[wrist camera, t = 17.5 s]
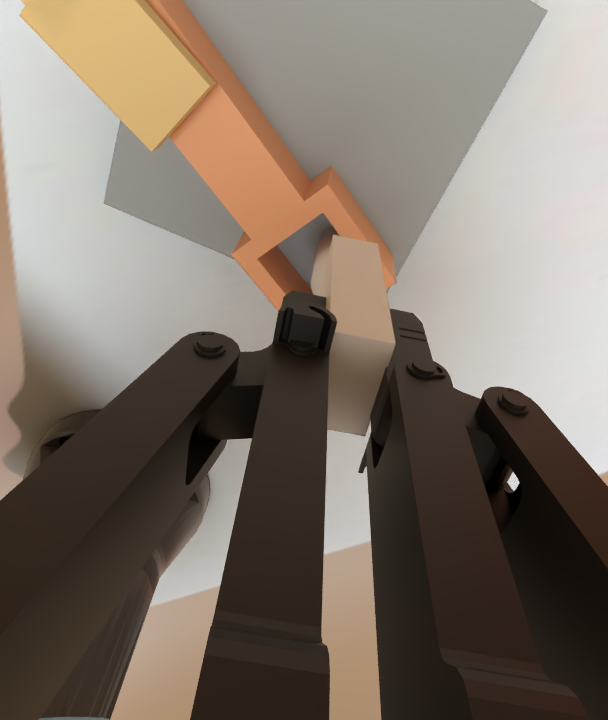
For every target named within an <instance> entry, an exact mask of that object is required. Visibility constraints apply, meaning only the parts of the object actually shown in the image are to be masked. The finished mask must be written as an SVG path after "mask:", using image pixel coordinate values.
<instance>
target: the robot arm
mask: <svg viewBox="0 0 608 720" xmlns="http://www.w3.org/2000/svg"><path fill="white" fill-rule="evenodd" d="M370 420H371V431H372V432H371V435H370V438H369V441H368V444H367V447H366V450H365V452H364V455H363V458H362V461H361V464H360V468H359V472H358V473H363V471H364V468H365V467H366V466H367V475H368V493H369V510H370V527H371V545H372V560H373V561H372V562H373V578H374V596H375V614H376V631H377V650H378V666H379V685H380V701H381V718H382V720H608V486H607V485H606V484H605V483H604V482H603V481H602V479H601V478H600V477H599V476H598V475H597V474H596V472H595V471H594V470H593V469H592V468H591V466H590V465H589V464H588V463H587V462H586V461H585V459H584V458H583V457H582V456H581V455H580V454H579V452H578V451H577V450H576V449H575V448H574V447H573V445H572V444H571V443H570V442H569V441H568V440H567V438H566V437H565V436H564V435H563V434H562V433H561V431H560V430H559V429H558V428H557V427H556V426H555V424H554V423H553V422H552V421H551V420H550V419H549V417H548V416H547V415H546V414H545V413H544V412H543V410H542V409H541V408H540V407H539V406H538V405H537V404H536V403H535V402H534V401H533V400H532V399H530V398H529V397H527V396H525V395H524V394H523V393H521V392H519V391H517V390H514V389H511V388H504V387H490V388H488V389H487V390H485V391H484V393H483V395H482V398H481V399H479V398H476V397H474V396H471V395H468V394H466V393H463V392H461V391H459V390H457V389H455V388H453V385H452V381H451V378H450V376H449V374H448V372H447V371H446V369H444V368H443V367H442V366H441V365H440V364H438V363H436V362H434V361H433V360H432V356H431V353H430V349H429V346H428V342H427V338H426V335H425V331H424V328H423V324H422V322H421V321H420V320H419V319H418V318H417V317H416V316H415V315H414V314H413V313H409V312H404V311H399V310H394V309H389V304H388V298H387V293H386V287H385V281H384V276H383V270H382V265H381V259H380V253H379V248H378V244H377V243H372V242H367V241H362V240H357V239H352V238H347V237H343V236H338V235H333V237H332V242H331V246H330V251H329V255H328V260H327V264H326V268H325V273H324V277H323V282H322V286H321V290H320V295H319V296H317V295H312V294H307V293H302V292H297V291H291V292H289V293H288V294H287V295H285V296H284V297H283V301H282V306H281V308H280V309H279V312H278V317H277V322H276V328H275V333H274V339H273V343H272V344H271V345H270V346H269V347H268V348H265V349H263V350H260V351H255V352H240V349H239V346H238V344H237V343H236V342H235V341H234V340H232V339H231V338H229V337H227V336H225V335H222V334H218V333H215V332H196V333H192V334H188V335H187V336H185V337H183V338H182V339H180V340H179V341H178V342H177V343H176V344H175V345H174V346H173V347H171V348H170V349H169V350H168V351H167V352H166V353H165V354H164V355H163V356H161V357H160V358H159V359H158V360H157V361H156V362H155V363H154V364H152V365H151V366H150V367H149V368H148V369H147V370H146V371H145V372H144V373H142V374H141V375H140V376H139V377H138V378H137V379H136V380H135V381H133V382H132V383H131V384H130V385H129V386H128V387H127V388H126V389H125V390H123V391H122V392H121V393H120V394H119V395H118V396H117V397H116V398H114V399H113V400H112V401H111V402H110V403H109V404H108V405H107V406H105V407H104V408H103V409H102V410H96V411H86V412H81V413H76V414H73V415H70V416H68V417H65V418H63V419H62V420H60V421H58V422H57V423H56V424H54V425H53V426H52V427H51V428H50V429H49V430H48V431H47V433H46V434H45V435H44V436H43V438H42V439H41V440H40V442H39V443H38V444H37V446H36V447H35V449H34V450H33V452H32V454H31V456H30V458H29V461H28V464H27V467H26V471H25V475H24V479H23V481H22V482H21V483H20V484H18V485H17V486H16V487H15V488H14V489H13V490H12V491H10V492H9V493H8V494H7V495H6V496H5V497H4V498H3V499H2V500H1V501H0V720H110V718H111V715H112V712H113V710H114V707H115V704H116V701H117V698H118V695H119V692H120V689H121V687H122V684H123V681H124V678H125V675H126V672H127V669H128V666H129V663H130V660H131V658H132V655H133V652H134V649H135V646H136V643H137V640H138V637H139V635H140V632H141V629H142V626H143V623H144V620H145V617H146V614H147V612H148V609H149V606H150V603H151V600H152V597H153V594H154V591H155V589H156V586H157V583H158V581H159V578H160V576H161V575H162V574H163V573H164V571H165V570H166V569H167V568H168V566H169V565H170V564H171V563H172V561H173V560H174V559H175V558H176V556H177V555H178V554H179V552H180V551H181V550H182V549H183V547H184V546H185V545H186V544H187V542H188V541H189V540H190V539H191V537H192V536H193V535H194V534H195V532H196V531H197V529H198V527H199V526H200V524H201V521H202V519H203V516H204V513H205V510H206V507H207V504H208V500H209V495H210V486H209V480H208V476H207V473H208V472H209V470H210V469H211V467H212V466H213V464H214V463H215V461H216V460H217V458H218V457H219V455H220V454H221V452H222V451H223V450H224V448H225V445H226V442H227V439H246V438H252V442H251V446H250V451H249V456H248V460H247V465H246V470H245V474H244V479H243V484H242V488H241V493H240V497H239V502H238V507H237V511H236V516H235V521H234V525H233V530H232V535H231V539H230V544H229V549H228V553H227V558H226V563H225V567H224V572H223V577H222V581H221V586H220V591H219V595H218V600H217V605H216V609H215V614H214V619H213V623H212V626H211V628H210V632H209V636H208V641H207V645H206V650H205V654H204V659H203V663H202V668H201V672H200V677H199V682H198V686H197V691H196V696H195V700H194V705H193V709H192V714H191V718H190V720H329V691H330V668H329V653H328V648H327V646H326V645H324V644H323V643H322V638H321V619H322V618H321V617H322V584H323V552H324V518H325V485H326V451H327V429H329V430H334V431H340V432H345V433H350V434H356V435H361V436H365V435H366V432H367V429H368V426H369V423H370ZM512 472H514V473H515V475H516V476H517V478H518V480H519V482H520V483H519V485H518V487H517V489H516V490H515V491H513V490H512V489H511V487H510V486H509V484H508V483H507V481H508V479H509V478H510V476H511V474H512Z"/></svg>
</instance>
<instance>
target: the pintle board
mask: <svg viewBox="0 0 608 720" xmlns="http://www.w3.org/2000/svg"><path fill="white" fill-rule="evenodd" d="M21 1H22V2H23V3H24V4H25V7H24V9H23V10H22V12H21V13H20V15H19V16H20V17H21V18H22V19H23V20H24V21H25V22H26V23H27V24H28V25H29V26H30V27H31V28H32V29H33V30H34V31H35V32H36V33H37V34H38V35H39V36H40V37H41V38H42V39H43V40H44V42H45V43H46V44H47V45H48V46H49V47H50V48H51V49H52V50H53V51H54V52H55V53H56V54H57V55H58V56H59V57H60V58H61V59H62V60H63V61H64V62H65V63H66V64H67V65H68V66H69V67H70V68H71V69H72V70H73V71H74V72H75V73H76V74H77V76H78V77H79V78H80V79H81V80H82V81H83V82H84V83H85V84H86V85H87V86H88V87H89V88H90V89H91V90H92V91H93V92H94V93H95V94H96V95H97V96H98V97H99V98H100V99H101V100H102V101H103V102H104V103H105V104H106V105H107V106H108V107H109V108H110V110H111V111H112V112H113V113H114V114H115V115H116V116H117V117H118V118H119V119H120V125H119V130H118V135H117V140H116V145H115V150H114V155H113V160H112V165H111V170H110V175H109V180H108V185H107V190H106V195H105V200H104V204H106V205H109V206H111V207H113V208H116V209H118V210H120V211H123V212H125V213H127V214H130V215H132V216H135V217H137V218H139V219H142V220H144V221H146V222H149V223H151V224H153V225H156V226H158V227H160V228H163V229H165V230H167V231H170V232H172V233H175V234H177V235H179V236H182V237H184V238H186V239H189V240H191V241H193V242H196V243H198V244H200V245H203V246H205V247H207V248H210V249H212V250H215V251H217V252H219V253H222V254H224V255H226V256H229V257H231V258H233V259H234V257H233V256H232V255H231V254H232V252H233V250H234V249H235V247H236V245H237V243H238V241H239V240H240V238H241V236H242V234H243V232H244V230H243V228H242V227H241V226H240V225H239V223H238V222H237V221H236V220H235V218H234V217H233V216H232V215H231V213H230V212H229V211H228V210H227V209H226V207H225V206H224V205H223V204H222V202H221V201H220V200H219V199H218V197H217V196H216V195H215V194H214V192H213V191H212V190H211V189H210V187H209V186H208V185H207V184H206V182H205V181H204V180H203V179H202V177H201V176H200V175H199V174H198V172H197V171H196V170H195V169H194V167H193V166H192V165H191V164H190V162H189V161H188V160H187V159H186V157H185V156H184V155H183V154H182V152H181V151H180V150H179V149H178V147H177V146H176V145H175V144H174V142H173V141H172V140H171V139H170V137H169V136H170V135H171V134H172V133H173V132H174V131H175V129H176V128H177V127H178V126H179V125H180V124H181V123H182V122H183V120H184V119H185V118H186V117H187V116H188V115H189V114H190V113H191V111H192V110H193V109H194V108H195V107H196V106H197V105H198V104H199V102H200V101H201V100H202V99H203V98H204V97H205V96H206V95H207V93H208V92H209V91H210V90H211V89H212V88H213V87H214V86H215V84H216V82H215V81H214V80H213V79H212V77H211V76H210V75H209V74H208V73H207V72H206V71H205V69H204V68H203V67H202V66H201V65H200V64H199V62H198V61H197V60H196V59H195V58H194V57H193V56H192V54H191V53H190V52H189V51H188V50H187V49H186V47H185V46H184V45H183V44H182V43H181V42H180V41H179V39H178V38H177V37H176V36H175V35H174V34H173V32H172V31H171V30H170V29H169V28H168V27H167V26H166V24H165V23H164V22H163V21H162V20H161V19H160V17H159V16H158V15H157V14H156V13H155V12H154V10H153V9H152V8H151V7H150V6H149V5H148V4H147V2H146V1H145V0H21ZM183 1H184V3H185V4H186V6H187V7H188V9H189V10H190V11H191V13H192V14H193V16H194V17H195V18H196V20H197V21H198V23H199V24H200V25H201V27H202V28H203V30H204V31H205V33H206V34H207V35H208V37H209V38H210V40H211V41H212V42H213V44H214V45H215V47H216V48H217V49H218V51H219V52H220V54H221V55H222V57H223V58H224V59H225V61H226V62H227V64H228V65H229V66H230V68H231V69H232V71H233V72H234V73H235V75H236V76H237V78H238V79H239V81H240V82H241V83H242V85H243V86H244V88H245V89H246V90H247V92H248V93H249V95H250V96H251V97H252V99H253V100H254V102H255V103H256V105H257V106H258V107H259V109H260V110H261V112H262V113H263V114H264V116H265V117H266V119H267V120H268V122H269V123H270V124H271V126H272V127H273V129H274V130H275V131H276V133H277V134H278V136H279V137H280V138H281V140H282V141H283V143H284V144H285V146H286V147H287V148H288V150H289V151H290V153H291V154H292V155H293V157H294V158H295V160H296V161H297V162H298V164H299V165H300V167H301V168H302V170H303V171H304V172H305V174H306V175H307V177H308V178H309V179H310V181H311V180H313V179H314V178H316V177H317V176H318V175H320V174H321V173H322V172H324V171H325V170H326V169H328V168H329V167H330V166H332V167H333V168H334V170H335V171H336V173H337V174H338V176H339V177H340V179H341V180H342V182H343V183H344V185H345V186H346V188H347V189H348V190H349V192H350V193H351V195H352V196H353V198H354V199H355V201H356V202H357V204H358V205H359V207H360V208H361V210H362V211H363V213H364V214H365V215H366V217H367V218H368V220H369V221H370V223H371V224H372V226H373V227H374V229H375V230H376V232H377V233H378V235H379V236H380V238H381V239H382V240H383V242H384V243H385V245H386V246H387V248H388V249H389V251H390V252H391V254H392V255H393V262H394V270H395V277H396V276H397V274H398V272H399V271H400V269H401V267H402V265H403V264H404V262H405V260H406V258H407V257H408V255H409V253H410V251H411V250H412V248H413V246H414V244H415V243H416V241H417V239H418V237H419V236H420V234H421V232H422V230H423V229H424V227H425V225H426V223H427V222H428V220H429V218H430V216H431V215H432V213H433V211H434V209H435V208H436V206H437V204H438V202H439V201H440V199H441V197H442V195H443V194H444V192H445V190H446V188H447V187H448V185H449V183H450V181H451V180H452V178H453V176H454V174H455V173H456V171H457V169H458V167H459V166H460V164H461V162H462V160H463V159H464V157H465V155H466V153H467V151H468V150H469V148H470V146H471V144H472V143H473V141H474V139H475V137H476V136H477V134H478V132H479V130H480V129H481V127H482V125H483V123H484V122H485V120H486V118H487V116H488V115H489V113H490V111H491V109H492V108H493V106H494V104H495V102H496V101H497V99H498V97H499V95H500V94H501V92H502V90H503V88H504V87H505V85H506V83H507V81H508V80H509V78H510V76H511V74H512V73H513V71H514V69H515V67H516V66H517V64H518V62H519V60H520V59H521V57H522V55H523V53H524V52H525V50H526V48H527V46H528V45H529V43H530V41H531V39H532V38H533V36H534V34H535V32H536V31H537V29H538V27H539V25H540V24H541V22H542V20H543V18H544V17H545V15H546V13H547V10H545V9H544V8H542V7H540V6H538V5H536V4H534V3H533V2H531V1H529V0H183ZM333 235H338V236H340V235H339V234H338V232H337V231H336V230H335V228H334V227H333V225H332V224H331V223H330V221H329V220H328V219H327V217H326V216H325V214H324V213H321V214H320V215H319V216H317V217H316V218H314V219H313V220H312V221H310V222H309V223H307V224H306V225H304V226H303V227H302V228H300V229H299V230H297V231H296V232H294V233H293V234H292V235H290V236H289V237H287V238H286V239H285V240H283V241H282V242H280V243H279V244H277V246H278V247H279V249H280V250H281V251H282V252H283V254H284V255H285V256H286V258H287V259H288V260H289V261H290V263H291V264H292V265H293V266H294V268H295V269H296V270H297V272H298V273H299V274H300V275H301V277H302V278H303V279H304V281H305V282H306V283H307V284H308V286H309V287H310V288H311V289H312V292H313V294H314V295H317V296H319V295H320V290H321V286H322V282H323V277H324V273H325V268H326V264H327V260H328V255H329V251H330V246H331V242H332V237H333ZM389 288H390V287H389ZM389 288H387V289H386V293H387V292H388V290H389Z"/></svg>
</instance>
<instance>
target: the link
mask: <svg viewBox="0 0 608 720" xmlns="http://www.w3.org/2000/svg"><path fill="white" fill-rule="evenodd" d="M145 1H146V2H147V4H148V5H149V6H150V7H151V8H152V9H153V10H154V12H155V13H156V14H157V15H158V16H159V17H160V19H161V20H162V21H163V22H164V23H165V24H166V26H167V27H168V28H169V29H170V30H171V31H172V32H173V34H174V35H175V36H176V37H177V38H178V39H179V41H180V42H181V43H182V44H183V45H184V46H185V47H186V49H187V50H188V51H189V52H190V53H191V54H192V56H193V57H194V58H195V59H196V60H197V61H198V62H199V64H200V65H201V66H202V67H203V68H204V69H205V71H206V72H207V73H208V74H209V75H210V76H211V77H212V79H213V80H214V81H215V82H216V84H215V86H214V87H213V88H212V89H211V90H210V91H209V92H208V93H207V95H206V96H205V97H204V98H203V99H202V100H201V101H200V102H199V104H198V105H197V106H196V107H195V108H194V109H193V110H192V111H191V113H190V114H189V115H188V116H187V117H186V118H185V119H184V120H183V122H182V123H181V124H180V125H179V126H178V127H177V128H176V129H175V131H174V132H173V133H172V134H171V135H170V136H169V137H170V139H171V140H172V141H173V142H174V144H175V145H176V146H177V147H178V149H179V150H180V151H181V152H182V154H183V155H184V156H185V157H186V159H187V160H188V161H189V162H190V164H191V165H192V166H193V167H194V169H195V170H196V171H197V172H198V174H199V175H200V176H201V177H202V179H203V180H204V181H205V182H206V184H207V185H208V186H209V187H210V189H211V190H212V191H213V192H214V194H215V195H216V196H217V197H218V199H219V200H220V201H221V202H222V204H223V205H224V206H225V207H226V209H227V210H228V211H229V212H230V213H231V215H232V216H233V217H234V218H235V220H236V221H237V222H238V223H239V225H240V226H241V227H242V228H243V230H244V232H243V234H242V236H241V238H240V240H239V241H238V243H237V245H236V247H235V249H234V250H233V252H232V254H231V255H232V256H233V257H234V259H235V260H236V261H237V262H238V263H239V265H240V266H241V267H242V268H243V269H244V271H245V272H246V273H247V274H248V275H249V277H250V278H251V279H252V280H253V281H254V283H255V284H256V285H257V286H258V287H259V289H260V290H261V291H262V292H263V293H264V295H265V296H266V297H267V298H268V299H269V301H270V302H271V303H272V304H273V305H274V307H275V308H276V309H277V310H278V311H279V309H280V308H281V306H282V301H283V297H284V296H285V295H287V294H288V293H289V292H291V291H297V292H302V293H307V294H312V295H314V294H313V292H312V289H311V288H310V287H309V286H308V284H307V283H306V282H305V281H304V279H303V278H302V277H301V275H300V274H299V273H298V272H297V270H296V269H295V268H294V266H293V265H292V264H291V263H290V261H289V260H288V259H287V258H286V256H285V255H284V254H283V252H282V251H281V250H280V249H279V247H278V246H277V244H279V243H280V242H282V241H283V240H285V239H286V238H287V237H289V236H290V235H292V234H293V233H294V232H296V231H297V230H299V229H300V228H302V227H303V226H304V225H306V224H307V223H309V222H310V221H312V220H313V219H314V218H316V217H317V216H319V215H320V214H321V213H324V214H325V216H326V217H327V219H328V220H329V221H330V223H331V224H332V225H333V227H334V228H335V230H336V231H337V232H338V234H339V235H340V236H343V237H347V238H352V239H357V240H362V241H367V242H372V243H377V244H378V248H379V253H380V259H381V265H382V270H383V276H384V281H385V287H386V289H387V288H389V287H390V286H392V285H394V284H395V283H396V277H395V270H394V262H393V255H392V254H391V252H390V251H389V249H388V248H387V246H386V245H385V243H384V242H383V240H382V239H381V238H380V236H379V235H378V233H377V232H376V230H375V229H374V227H373V226H372V224H371V223H370V221H369V220H368V218H367V217H366V215H365V214H364V213H363V211H362V210H361V208H360V207H359V205H358V204H357V202H356V201H355V199H354V198H353V196H352V195H351V193H350V192H349V190H348V189H347V188H346V186H345V185H344V183H343V182H342V180H341V179H340V177H339V176H338V174H337V173H336V171H335V170H334V168H333V167H332V166H330V167H329V168H328V169H326V170H325V171H324V172H322V173H321V174H320V175H318V176H317V177H316V178H314V179H313V180H311V181H310V179H309V178H308V177H307V175H306V174H305V172H304V171H303V170H302V168H301V167H300V165H299V164H298V162H297V161H296V160H295V158H294V157H293V155H292V154H291V153H290V151H289V150H288V148H287V147H286V146H285V144H284V143H283V141H282V140H281V138H280V137H279V136H278V134H277V133H276V131H275V130H274V129H273V127H272V126H271V124H270V123H269V122H268V120H267V119H266V117H265V116H264V114H263V113H262V112H261V110H260V109H259V107H258V106H257V105H256V103H255V102H254V100H253V99H252V97H251V96H250V95H249V93H248V92H247V90H246V89H245V88H244V86H243V85H242V83H241V82H240V81H239V79H238V78H237V76H236V75H235V73H234V72H233V71H232V69H231V68H230V66H229V65H228V64H227V62H226V61H225V59H224V58H223V57H222V55H221V54H220V52H219V51H218V49H217V48H216V47H215V45H214V44H213V42H212V41H211V40H210V38H209V37H208V35H207V34H206V33H205V31H204V30H203V28H202V27H201V25H200V24H199V23H198V21H197V20H196V18H195V17H194V16H193V14H192V13H191V11H190V10H189V9H188V7H187V6H186V4H185V3H184V1H183V0H145Z"/></svg>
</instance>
